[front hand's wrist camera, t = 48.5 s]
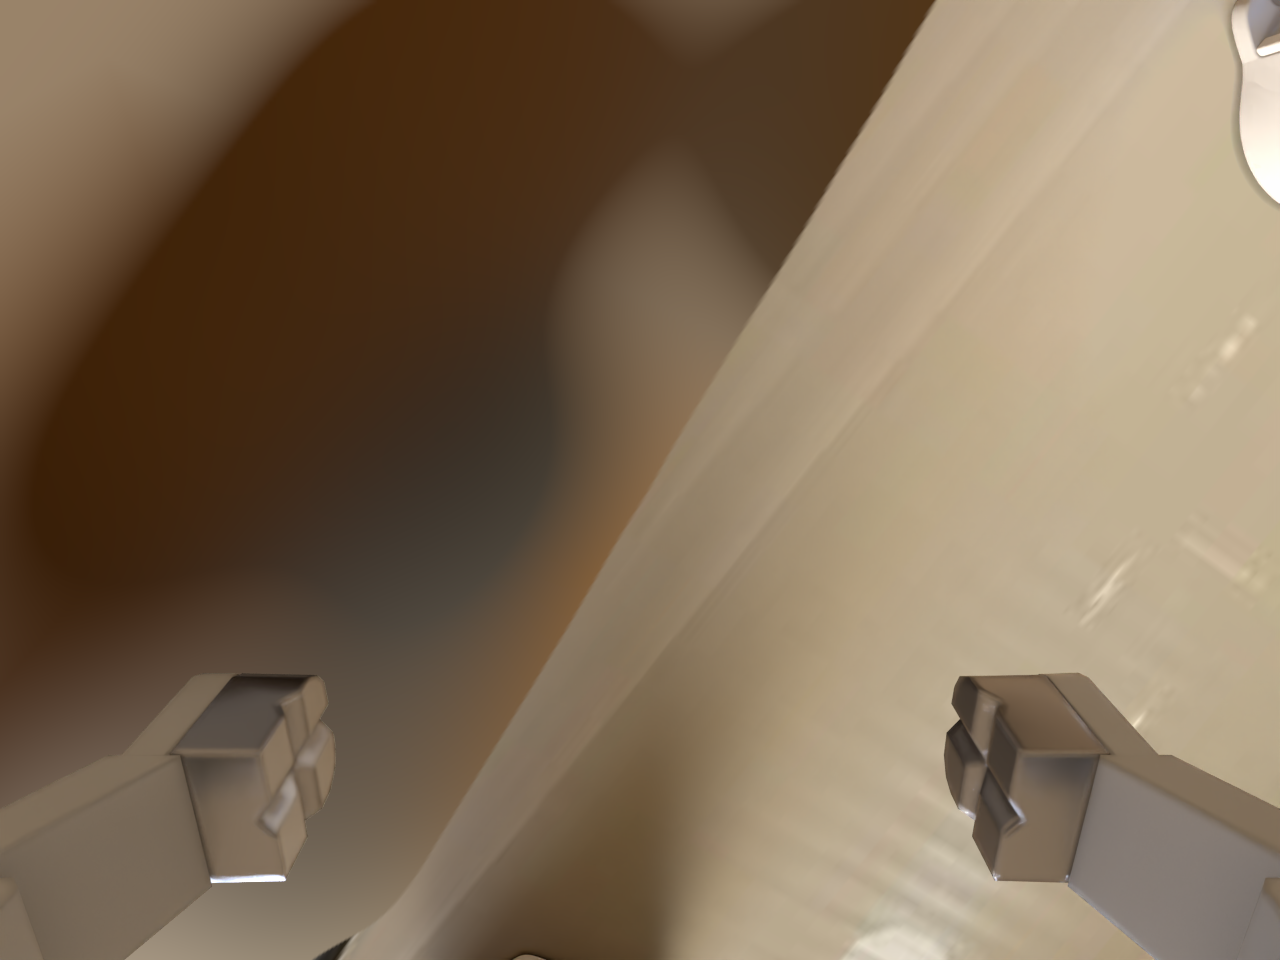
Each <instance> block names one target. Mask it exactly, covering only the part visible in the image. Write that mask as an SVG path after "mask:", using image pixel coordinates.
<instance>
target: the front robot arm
mask: <svg viewBox="0 0 1280 960" xmlns="http://www.w3.org/2000/svg"><path fill="white" fill-rule="evenodd" d="M1232 30H1233V34H1234V39H1235V42H1236V46H1237V49H1238V52H1239V55H1240V58H1241V61H1242V65H1243V81H1242V90H1241V100H1240V114H1239V121H1240V135H1241V141H1242V146H1243V150H1244V154H1245V157H1246V160H1247V162H1248V165H1249V167H1250V169H1251V171H1252V173H1253V175H1254V177H1255V178H1256V180H1257V181H1258V183H1259V184H1260V185H1261V187H1262V188H1263V189H1264V190H1265V191H1266V192H1267V193H1268V194H1269V195H1270V196H1271V197H1272V198H1273V199H1274V200H1275V201H1277V202H1278V203H1279V204H1280V0H1237V1H1236V3H1235V5H1234V8H1233V11H1232ZM951 704H952V705H953V707H954V709H955V711H956V712H957V714H958V716H959V717H960V720H959V721H958V722H957V723H956V724H955V725H954V726H953V727H952V728H951V729H950V730H949V731H948V732H947V734H946V742H945V750H944V761H945V772H946V779H947V782H948V786H949V789H950V792H951V795H952V797H953V799H954V801H955V803H956V805H957V807H958V809H959V810H961V811H962V812H964V813H965V814H966V815H968V816H969V817H971V818H972V819H974V820H975V823H974V829H973V834H972V837H973V839H974V841H975V843H976V845H977V847H978V849H979V851H980V853H981V855H982V857H983V859H984V861H985V863H986V864H987V866H988V868H989V870H990V872H991V874H992V876H993V878H994V880H995V881H1029V882H1065V883H1068V887H1070V888H1071V889H1072V890H1073V891H1074V892H1075V893H1077V894H1078V895H1079V896H1080V897H1081V898H1083V899H1084V900H1085V901H1086V902H1087V903H1089V904H1090V905H1091V906H1092V907H1093V908H1095V909H1096V910H1097V911H1098V912H1099V913H1101V914H1102V915H1103V916H1104V917H1105V918H1107V919H1108V920H1109V921H1110V922H1111V923H1113V924H1114V925H1115V926H1116V927H1117V928H1119V929H1120V930H1121V931H1122V932H1123V933H1124V934H1126V935H1127V936H1128V937H1129V938H1130V939H1132V940H1133V941H1134V942H1135V943H1136V944H1138V945H1139V946H1140V947H1141V948H1142V949H1144V950H1145V951H1146V952H1147V953H1148V954H1150V955H1151V956H1152V957H1153V958H1154V959H1156V960H1280V809H1279V808H1277V807H1275V806H1273V805H1271V804H1269V803H1267V802H1265V801H1263V800H1261V799H1259V798H1257V797H1255V796H1253V795H1251V794H1249V793H1247V792H1245V791H1243V790H1241V789H1239V788H1237V787H1235V786H1233V785H1231V784H1229V783H1227V782H1225V781H1223V780H1221V779H1219V778H1217V777H1215V776H1213V775H1211V774H1209V773H1206V772H1204V771H1202V770H1200V769H1198V768H1196V767H1194V766H1192V765H1190V764H1188V763H1186V762H1184V761H1182V760H1180V759H1178V758H1176V757H1174V756H1172V755H1158V754H1157V753H1156V752H1155V751H1154V750H1153V748H1152V747H1151V746H1150V745H1149V744H1148V743H1147V742H1146V741H1145V740H1144V738H1143V737H1142V736H1141V735H1140V734H1139V733H1138V732H1137V731H1136V730H1135V729H1134V727H1133V726H1132V725H1131V724H1130V723H1129V722H1128V721H1127V720H1126V719H1125V717H1124V716H1123V715H1122V714H1121V713H1120V712H1119V711H1118V710H1117V709H1116V708H1115V706H1114V705H1113V704H1112V703H1111V702H1110V701H1109V700H1108V699H1107V698H1106V696H1105V695H1104V694H1103V693H1102V692H1101V691H1100V690H1099V689H1098V688H1097V686H1096V685H1095V684H1094V683H1093V682H1092V681H1091V680H1090V679H1089V678H1088V677H1086V676H1084V675H1082V674H1080V673H1057V674H1039V675H1001V676H960V677H959V679H958V681H957V683H956V685H955V687H954V692H953V698H952V703H951ZM327 705H328V699H327V694H326V689H325V684H324V681H323V680H322V679H321V678H320V677H319V676H317V675H288V674H236V673H203V674H200V675H196V676H193V677H192V678H191V679H190V680H189V681H188V682H187V683H186V684H185V685H184V687H183V688H182V689H181V690H180V691H179V692H178V693H177V694H176V695H175V696H174V698H173V699H172V700H171V701H170V702H169V703H168V704H167V705H166V706H165V708H164V709H163V710H162V711H161V712H160V713H159V714H158V715H157V716H156V717H155V719H154V720H153V721H152V722H151V723H150V724H149V725H148V726H147V727H146V729H145V730H144V731H143V732H142V733H141V734H140V735H139V736H138V737H137V738H136V740H135V741H134V742H133V743H132V744H131V745H130V746H129V747H128V748H127V750H126V751H125V752H124V753H123V754H122V755H108V756H106V757H104V758H102V759H100V760H98V761H96V762H94V763H92V764H90V765H88V766H86V767H84V768H82V769H80V770H78V771H76V772H73V773H71V774H69V775H67V776H65V777H63V778H61V779H59V780H57V781H55V782H53V783H51V784H49V785H47V786H45V787H43V788H41V789H39V790H37V791H35V792H33V793H31V794H29V795H27V796H25V797H23V798H21V799H19V800H17V801H15V802H13V803H11V804H9V805H7V806H5V807H3V808H1V809H0V960H125V959H126V958H127V957H128V956H129V955H131V954H132V953H133V952H134V951H135V950H137V949H138V948H139V947H140V946H141V945H143V944H144V943H145V942H146V941H147V940H149V939H150V938H151V937H152V936H153V935H155V934H156V933H157V932H158V931H159V930H161V929H162V928H163V927H164V926H165V925H167V924H168V923H169V922H170V921H171V920H173V919H174V918H175V917H176V916H177V915H179V914H180V913H181V912H182V911H183V910H185V909H186V908H187V907H188V906H189V905H191V904H192V903H193V902H194V901H195V900H196V899H198V898H199V897H200V896H201V895H202V894H204V893H205V892H206V891H207V890H208V889H210V888H211V887H212V883H215V882H249V881H283V880H286V878H287V876H288V874H289V872H290V870H291V868H292V867H293V865H294V863H295V861H296V859H297V857H298V855H299V853H300V851H301V849H302V847H303V845H304V843H305V841H306V839H307V837H308V835H307V829H306V823H305V820H306V819H308V818H309V817H311V816H312V815H314V814H315V813H316V812H318V811H319V810H321V809H322V807H323V805H324V803H325V801H326V799H327V797H328V795H329V792H330V790H331V785H332V781H333V776H334V772H335V763H336V748H335V741H334V734H333V732H332V731H331V730H330V729H329V728H328V727H327V726H326V725H325V724H324V723H323V722H322V721H321V720H320V717H321V716H322V714H323V712H324V711H325V709H326V707H327Z"/></svg>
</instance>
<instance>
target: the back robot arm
mask: <svg viewBox="0 0 1280 960" xmlns="http://www.w3.org/2000/svg"><path fill="white" fill-rule="evenodd" d="M513 960H545V959H543V958H540V957H537V956H533V955H521V956H518V957H516V958H515V959H513Z"/></svg>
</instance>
